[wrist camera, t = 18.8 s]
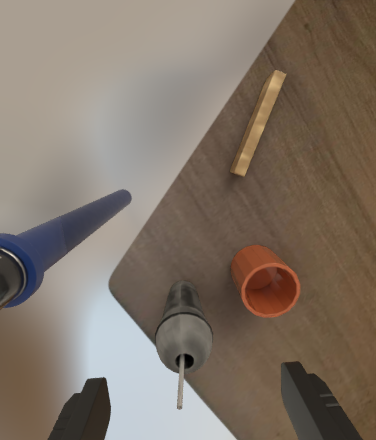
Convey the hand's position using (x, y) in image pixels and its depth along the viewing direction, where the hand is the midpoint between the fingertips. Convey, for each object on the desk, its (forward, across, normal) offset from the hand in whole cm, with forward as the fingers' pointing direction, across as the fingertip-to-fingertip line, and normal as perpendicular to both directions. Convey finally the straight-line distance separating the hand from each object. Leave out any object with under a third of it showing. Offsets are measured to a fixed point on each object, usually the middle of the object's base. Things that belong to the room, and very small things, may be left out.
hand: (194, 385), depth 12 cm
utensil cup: (+30, -11, +8) cm, 33 cm away
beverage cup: (+30, +1, +12) cm, 32 cm away
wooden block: (+28, -8, -8) cm, 30 cm away
